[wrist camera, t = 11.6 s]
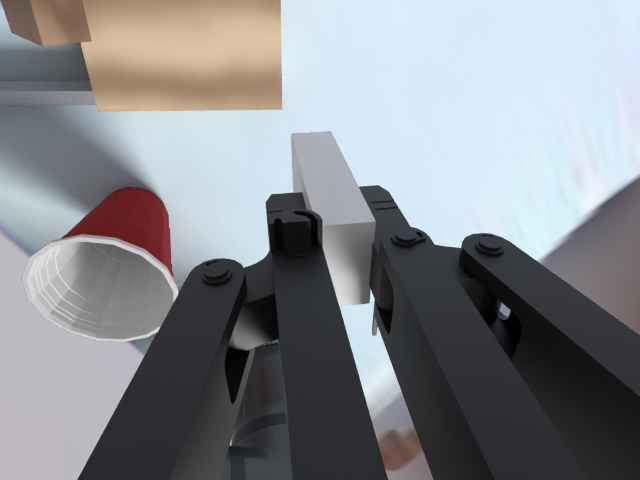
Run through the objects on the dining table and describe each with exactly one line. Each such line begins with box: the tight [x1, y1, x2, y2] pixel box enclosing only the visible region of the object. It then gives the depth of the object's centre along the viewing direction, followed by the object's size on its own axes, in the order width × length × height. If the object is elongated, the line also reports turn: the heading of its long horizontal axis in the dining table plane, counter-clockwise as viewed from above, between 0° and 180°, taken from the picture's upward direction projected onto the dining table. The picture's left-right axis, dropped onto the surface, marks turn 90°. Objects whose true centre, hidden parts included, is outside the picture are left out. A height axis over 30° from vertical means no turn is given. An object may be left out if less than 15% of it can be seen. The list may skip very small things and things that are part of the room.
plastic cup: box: [22, 187, 178, 342], centre depth 37 cm, size 11×11×12 cm
